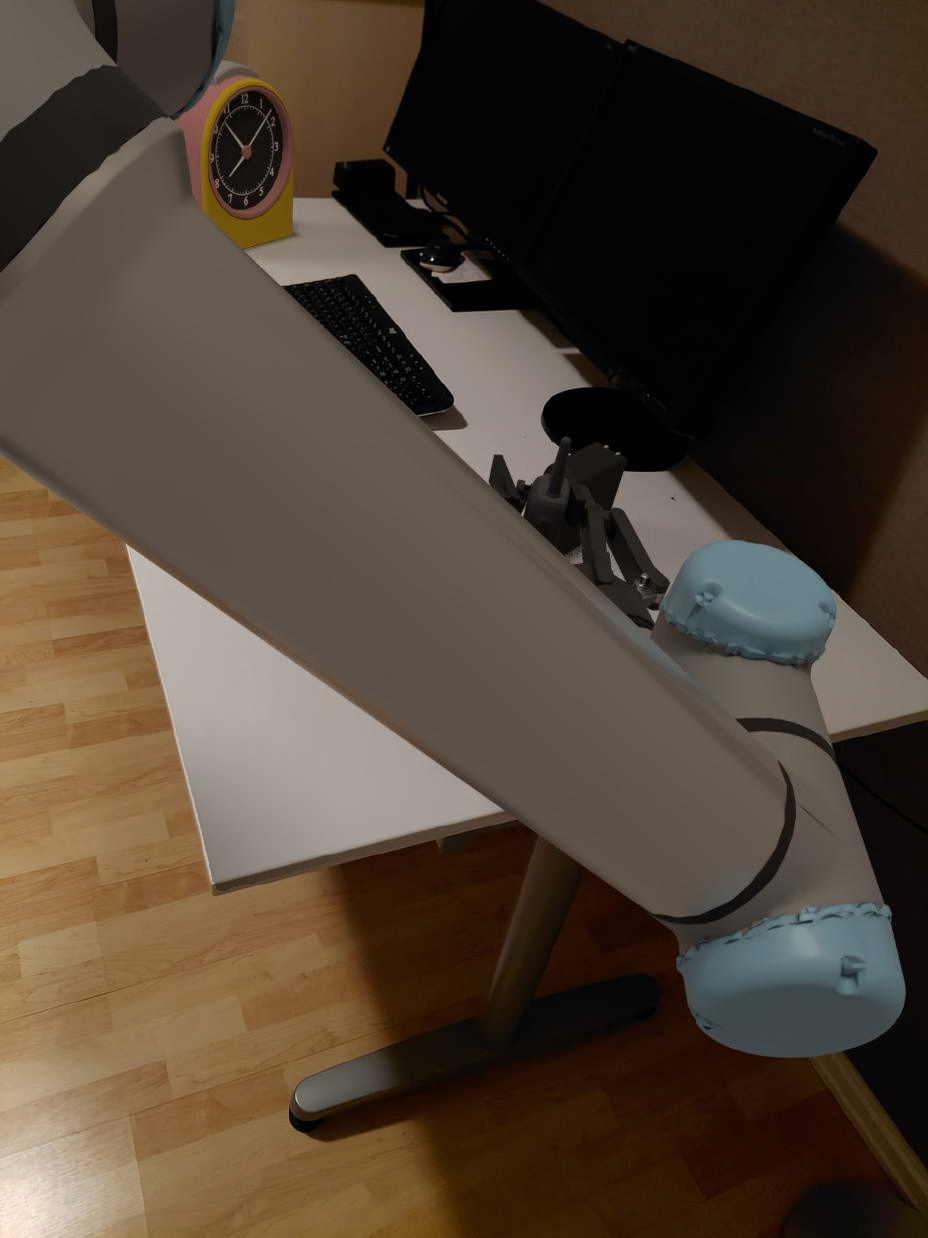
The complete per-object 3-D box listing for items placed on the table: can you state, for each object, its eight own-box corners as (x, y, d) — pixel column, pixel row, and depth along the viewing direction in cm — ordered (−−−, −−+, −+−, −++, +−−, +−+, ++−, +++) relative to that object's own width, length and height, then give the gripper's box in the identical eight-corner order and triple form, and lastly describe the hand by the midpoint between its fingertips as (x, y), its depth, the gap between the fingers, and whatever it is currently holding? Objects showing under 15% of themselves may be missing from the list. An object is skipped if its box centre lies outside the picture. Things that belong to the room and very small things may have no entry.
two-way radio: (543, 604, 72) (583, 452, 62) (493, 593, 72) (524, 439, 62) (550, 566, 76) (588, 417, 66) (502, 556, 76) (533, 406, 67)
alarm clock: (208, 258, 140) (200, 73, 123) (169, 240, 143) (156, 58, 126) (294, 234, 154) (297, 66, 137) (257, 219, 157) (255, 52, 140)
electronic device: (525, 542, 95) (544, 466, 88) (577, 512, 101) (599, 439, 94) (553, 561, 93) (575, 485, 86) (605, 530, 99) (629, 456, 92)
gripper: (471, 704, 57) (419, 503, 73) (711, 694, 61) (610, 506, 77) (490, 622, 52) (430, 426, 68) (750, 618, 56) (634, 434, 72)
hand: (526, 469), depth 73 cm, fingers closed on two-way radio, 5 cm apart
